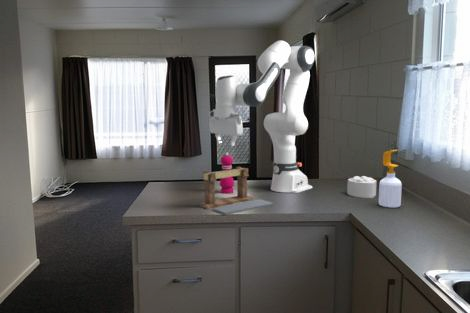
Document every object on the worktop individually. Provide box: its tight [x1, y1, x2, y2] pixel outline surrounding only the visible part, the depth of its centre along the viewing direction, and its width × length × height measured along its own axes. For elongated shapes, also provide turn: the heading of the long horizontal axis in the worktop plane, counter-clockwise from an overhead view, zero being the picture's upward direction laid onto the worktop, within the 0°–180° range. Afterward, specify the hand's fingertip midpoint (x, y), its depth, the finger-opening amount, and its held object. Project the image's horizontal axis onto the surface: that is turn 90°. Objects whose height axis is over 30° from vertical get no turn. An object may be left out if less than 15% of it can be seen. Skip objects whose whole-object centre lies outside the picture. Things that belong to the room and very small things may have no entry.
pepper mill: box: [219, 151, 235, 195], centre depth 215 cm, size 7×7×20 cm
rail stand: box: [198, 166, 254, 210], centre depth 194 cm, size 25×7×15 cm, turn 128°
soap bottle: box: [378, 149, 403, 209], centre depth 188 cm, size 9×9×25 cm
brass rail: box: [204, 167, 245, 181], centre depth 193 cm, size 22×3×2 cm, turn 128°
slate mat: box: [212, 198, 274, 216], centre depth 187 cm, size 26×9×1 cm, turn 128°
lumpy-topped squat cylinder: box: [346, 175, 377, 199], centre depth 209 cm, size 10×13×9 cm
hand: (225, 144), depth 191 cm, fingers open, 8 cm apart
